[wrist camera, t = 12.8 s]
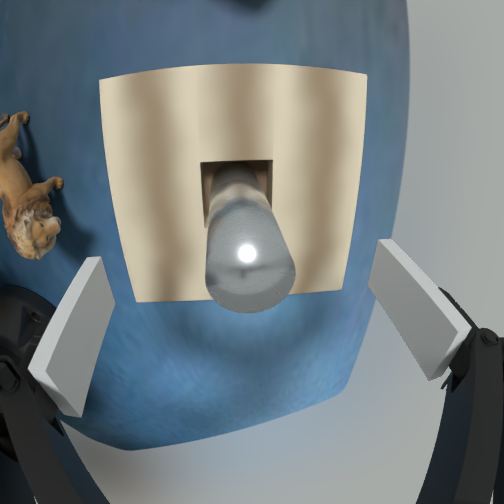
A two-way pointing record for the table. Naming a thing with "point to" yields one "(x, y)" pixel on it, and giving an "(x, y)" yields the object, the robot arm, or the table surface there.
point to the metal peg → (245, 244)
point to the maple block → (232, 150)
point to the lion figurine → (25, 197)
